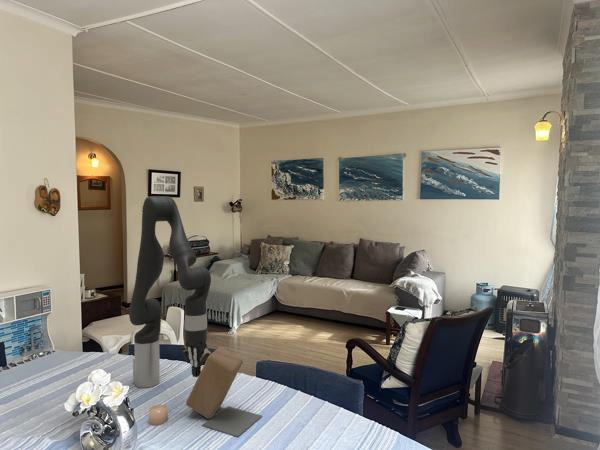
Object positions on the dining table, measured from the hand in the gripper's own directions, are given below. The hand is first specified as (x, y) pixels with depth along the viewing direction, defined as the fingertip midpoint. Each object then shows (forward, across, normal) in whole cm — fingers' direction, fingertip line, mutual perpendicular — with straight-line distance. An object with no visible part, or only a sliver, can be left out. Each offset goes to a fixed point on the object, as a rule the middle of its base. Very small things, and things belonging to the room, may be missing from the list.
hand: (196, 376), depth 146 cm
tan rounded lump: (+12, -7, -11) cm, 18 cm away
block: (+10, +2, 0) cm, 11 cm away
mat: (+12, +15, 0) cm, 19 cm away
